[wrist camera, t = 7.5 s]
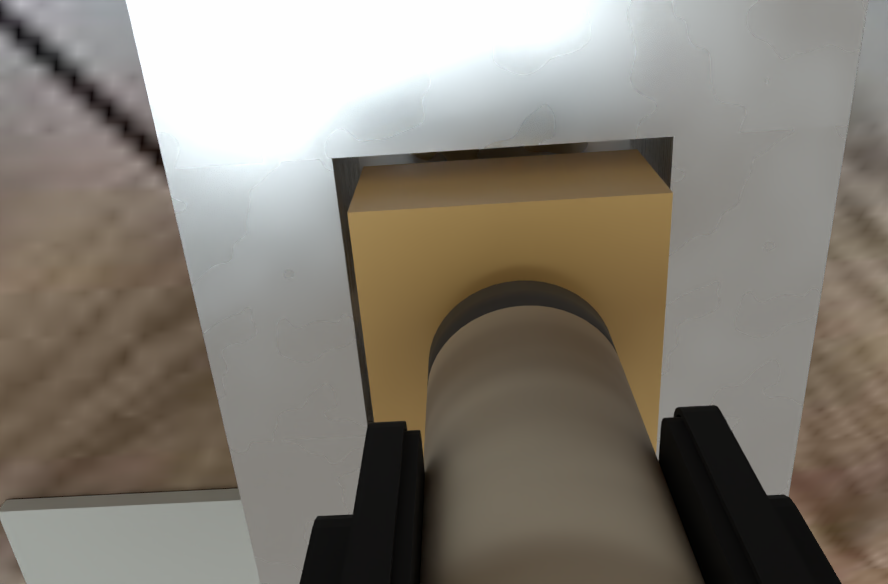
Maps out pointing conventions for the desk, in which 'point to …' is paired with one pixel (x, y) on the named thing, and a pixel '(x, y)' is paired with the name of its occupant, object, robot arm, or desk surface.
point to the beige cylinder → (540, 452)
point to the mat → (132, 538)
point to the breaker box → (482, 137)
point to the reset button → (508, 257)
